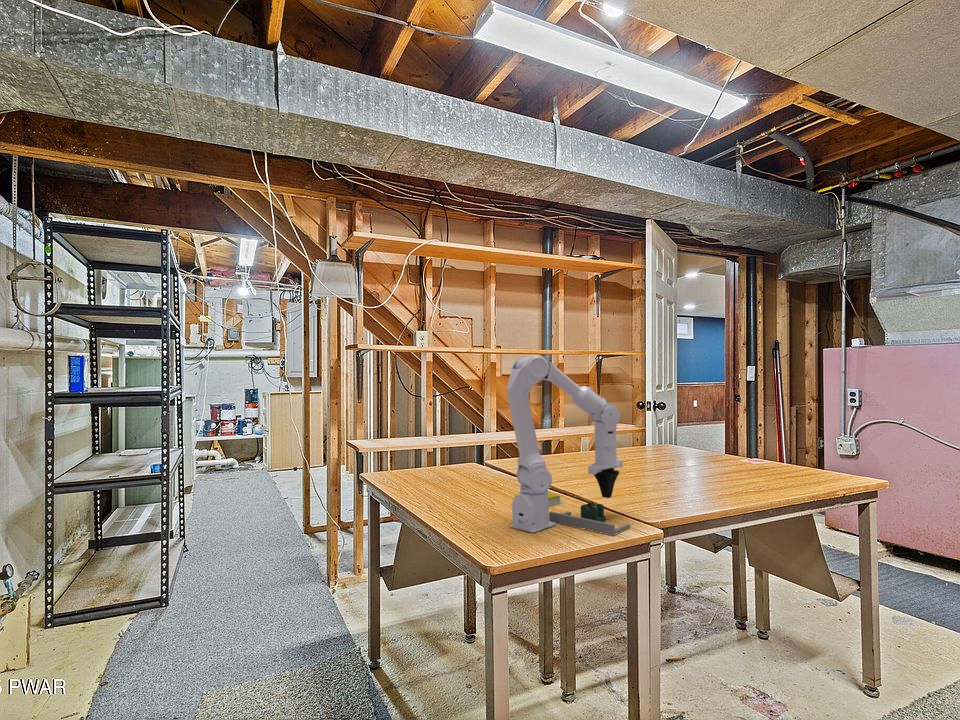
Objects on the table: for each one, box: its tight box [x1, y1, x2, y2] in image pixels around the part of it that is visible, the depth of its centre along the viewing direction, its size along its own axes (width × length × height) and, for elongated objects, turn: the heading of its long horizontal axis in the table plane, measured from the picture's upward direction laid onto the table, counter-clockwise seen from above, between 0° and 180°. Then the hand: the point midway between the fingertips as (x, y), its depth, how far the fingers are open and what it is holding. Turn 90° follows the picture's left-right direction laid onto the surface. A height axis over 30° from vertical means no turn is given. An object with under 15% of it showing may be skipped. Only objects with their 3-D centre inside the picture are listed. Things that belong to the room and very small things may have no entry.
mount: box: [580, 501, 607, 522], centre depth 134 cm, size 11×4×5 cm, turn 137°
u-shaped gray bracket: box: [549, 511, 631, 536], centre depth 133 cm, size 8×19×2 cm, turn 45°
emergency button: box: [510, 491, 566, 508], centre depth 155 cm, size 9×4×15 cm
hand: (606, 497), depth 139 cm, fingers closed
